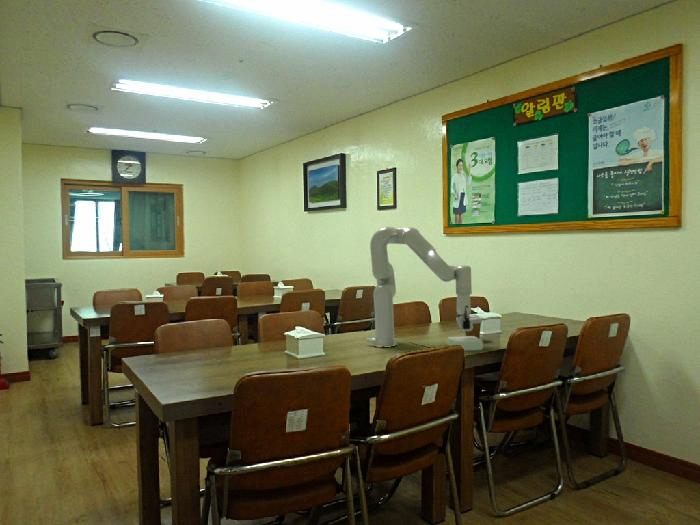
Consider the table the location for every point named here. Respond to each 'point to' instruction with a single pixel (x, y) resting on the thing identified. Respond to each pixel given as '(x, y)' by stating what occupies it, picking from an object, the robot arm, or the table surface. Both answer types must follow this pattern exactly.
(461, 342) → the stand
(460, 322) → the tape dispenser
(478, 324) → the disposable coffee cup
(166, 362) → the table surface
